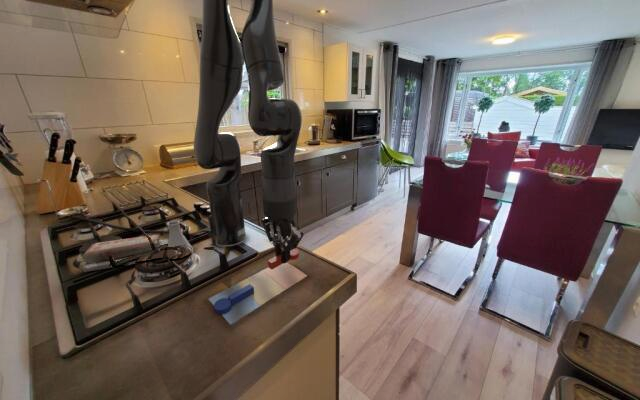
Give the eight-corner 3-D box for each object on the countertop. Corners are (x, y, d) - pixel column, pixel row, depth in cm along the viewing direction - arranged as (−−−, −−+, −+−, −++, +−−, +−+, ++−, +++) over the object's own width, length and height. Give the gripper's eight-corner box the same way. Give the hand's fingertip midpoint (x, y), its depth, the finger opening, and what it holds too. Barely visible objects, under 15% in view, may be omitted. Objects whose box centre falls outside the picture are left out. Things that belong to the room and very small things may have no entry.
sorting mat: (230, 327, 49) (230, 324, 49) (208, 300, 56) (208, 298, 55) (307, 277, 64) (307, 275, 63) (282, 261, 70) (282, 259, 70)
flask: (191, 244, 77) (185, 214, 74) (196, 255, 72) (190, 224, 68) (164, 251, 73) (156, 221, 70) (167, 263, 68) (159, 231, 64)
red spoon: (274, 271, 59) (273, 265, 58) (265, 265, 61) (265, 259, 60) (301, 256, 65) (301, 250, 64) (293, 251, 67) (292, 245, 66)
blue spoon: (248, 288, 59) (247, 281, 58) (256, 295, 57) (256, 288, 56) (211, 308, 53) (210, 301, 52) (219, 317, 51) (218, 310, 50)
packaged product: (76, 257, 62) (93, 238, 70) (83, 274, 64) (98, 253, 72) (160, 244, 68) (166, 228, 77) (164, 259, 70) (169, 241, 78)
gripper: (313, 197, 54) (313, 264, 60) (274, 184, 63) (277, 244, 69) (286, 207, 49) (289, 279, 55) (248, 191, 58) (254, 255, 64)
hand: (282, 259), depth 62 cm, fingers closed on red spoon, 1 cm apart
